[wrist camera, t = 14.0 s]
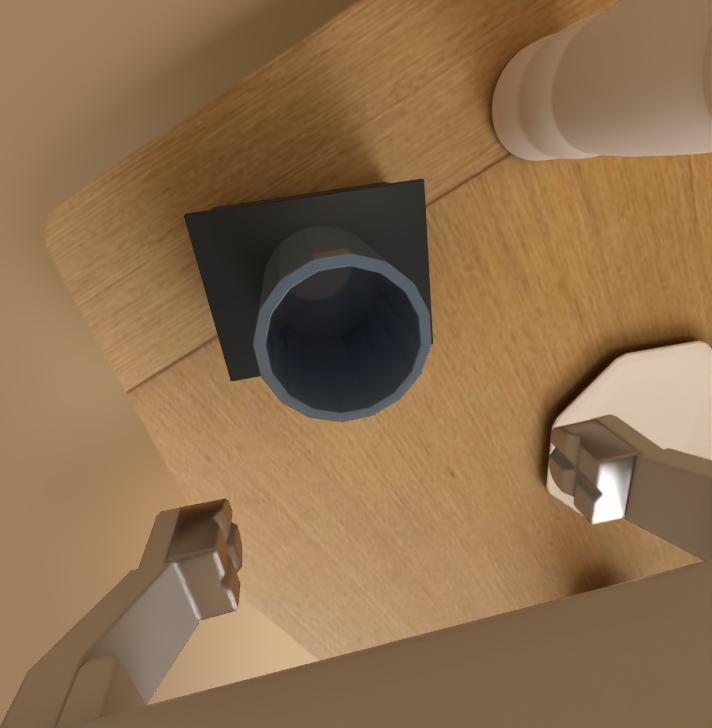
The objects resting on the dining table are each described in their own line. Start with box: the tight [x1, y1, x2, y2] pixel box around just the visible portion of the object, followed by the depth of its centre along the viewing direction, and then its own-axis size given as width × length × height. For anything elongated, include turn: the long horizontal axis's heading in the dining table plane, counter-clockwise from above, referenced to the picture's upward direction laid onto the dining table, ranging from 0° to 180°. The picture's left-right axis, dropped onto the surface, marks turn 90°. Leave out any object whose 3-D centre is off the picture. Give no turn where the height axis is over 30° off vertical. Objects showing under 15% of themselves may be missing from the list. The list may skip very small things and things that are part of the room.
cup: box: [253, 225, 431, 422], centre depth 20 cm, size 7×7×9 cm
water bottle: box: [492, 0, 712, 161], centre depth 19 cm, size 7×7×25 cm
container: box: [184, 179, 433, 381], centre depth 28 cm, size 13×10×8 cm
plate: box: [545, 340, 712, 516], centre depth 43 cm, size 20×20×2 cm
